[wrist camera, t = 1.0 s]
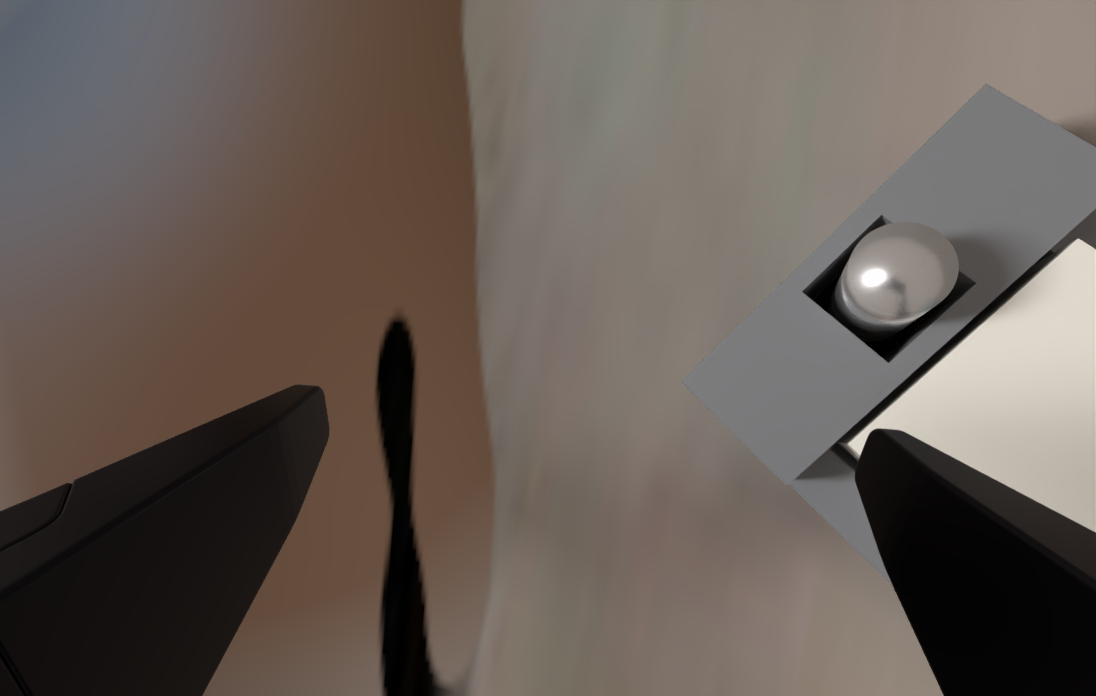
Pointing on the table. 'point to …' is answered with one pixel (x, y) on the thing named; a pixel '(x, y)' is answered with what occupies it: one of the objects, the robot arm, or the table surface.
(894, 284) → the release plunger
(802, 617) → the table surface
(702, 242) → the table surface
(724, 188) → the table surface
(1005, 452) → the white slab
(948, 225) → the filter housing
